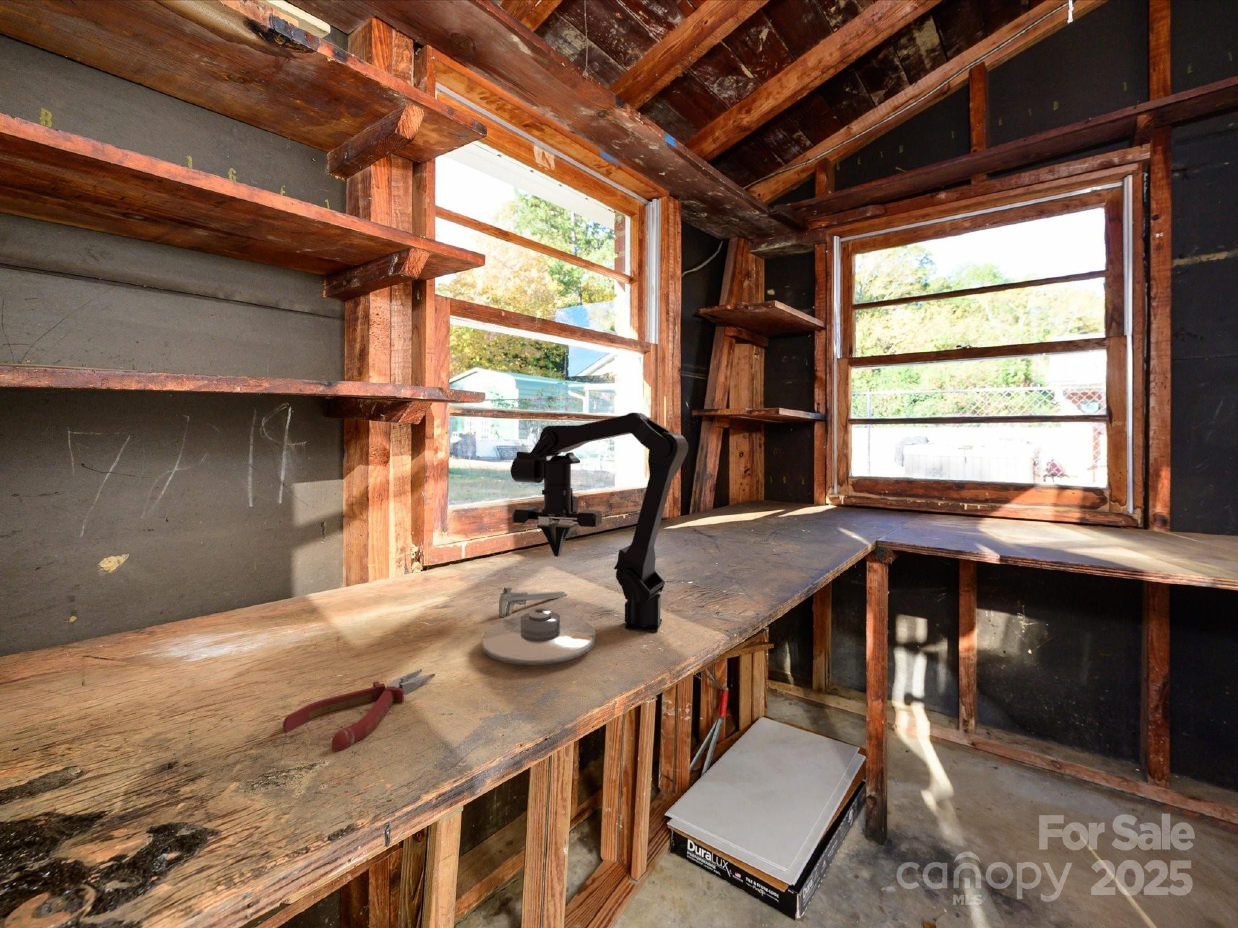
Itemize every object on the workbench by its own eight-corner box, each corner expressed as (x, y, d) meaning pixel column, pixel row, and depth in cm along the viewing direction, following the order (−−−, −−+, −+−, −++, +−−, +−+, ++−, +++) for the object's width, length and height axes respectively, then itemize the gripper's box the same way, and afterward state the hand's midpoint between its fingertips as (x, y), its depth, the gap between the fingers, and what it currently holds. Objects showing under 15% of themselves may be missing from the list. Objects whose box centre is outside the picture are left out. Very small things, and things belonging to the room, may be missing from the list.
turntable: (607, 626, 104) (607, 619, 104) (575, 670, 85) (575, 662, 85) (511, 617, 109) (511, 610, 109) (460, 657, 90) (460, 648, 90)
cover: (565, 628, 99) (565, 606, 99) (551, 643, 93) (551, 618, 92) (530, 625, 101) (530, 602, 101) (514, 638, 94) (514, 614, 94)
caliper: (502, 619, 112) (502, 589, 112) (498, 618, 113) (498, 588, 113) (567, 596, 129) (568, 570, 128) (564, 595, 130) (564, 569, 129)
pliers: (456, 687, 83) (456, 670, 83) (339, 758, 65) (338, 737, 65) (401, 672, 88) (401, 656, 88) (278, 734, 70) (278, 715, 70)
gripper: (609, 482, 121) (608, 550, 122) (531, 479, 126) (531, 545, 127) (595, 487, 111) (594, 562, 112) (511, 484, 115) (511, 556, 116)
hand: (557, 556), depth 117 cm, fingers closed
